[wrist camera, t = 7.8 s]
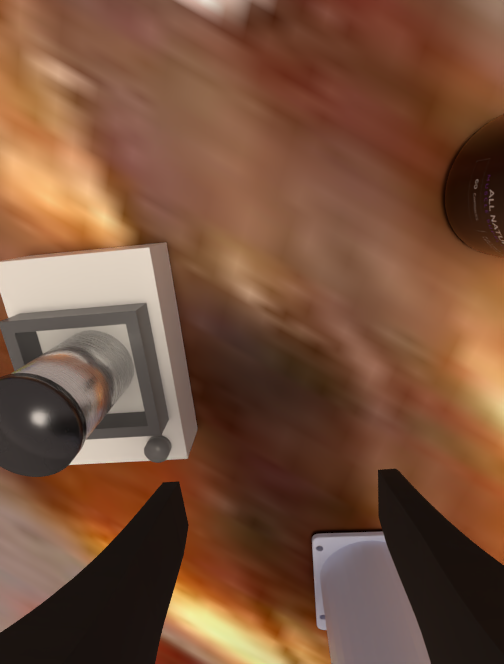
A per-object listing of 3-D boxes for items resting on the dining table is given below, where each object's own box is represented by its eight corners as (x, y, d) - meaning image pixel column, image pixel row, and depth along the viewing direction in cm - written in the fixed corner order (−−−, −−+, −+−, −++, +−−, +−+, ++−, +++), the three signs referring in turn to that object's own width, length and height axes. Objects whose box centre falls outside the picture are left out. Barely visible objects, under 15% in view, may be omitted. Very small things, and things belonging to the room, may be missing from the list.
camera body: (197, 428, 24) (181, 476, 19) (81, 435, 24) (40, 483, 20) (166, 242, 20) (138, 250, 16) (29, 255, 20) (-34, 267, 16)
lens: (144, 396, 20) (92, 471, 14) (71, 404, 20) (-7, 481, 14) (124, 323, 18) (57, 373, 13) (47, 334, 19) (-51, 387, 13)
